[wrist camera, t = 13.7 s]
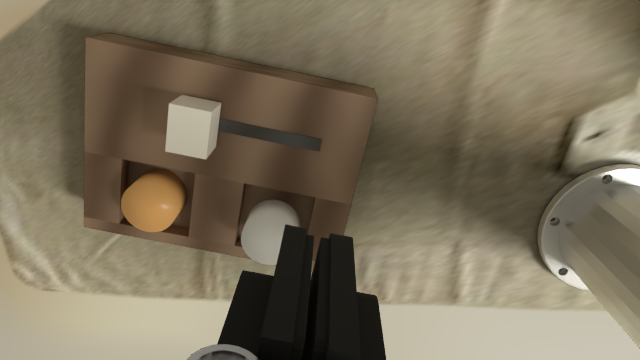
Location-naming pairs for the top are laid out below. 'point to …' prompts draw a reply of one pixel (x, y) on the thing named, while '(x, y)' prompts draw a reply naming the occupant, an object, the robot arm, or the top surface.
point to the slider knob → (192, 126)
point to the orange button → (154, 200)
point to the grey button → (267, 230)
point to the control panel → (220, 141)
